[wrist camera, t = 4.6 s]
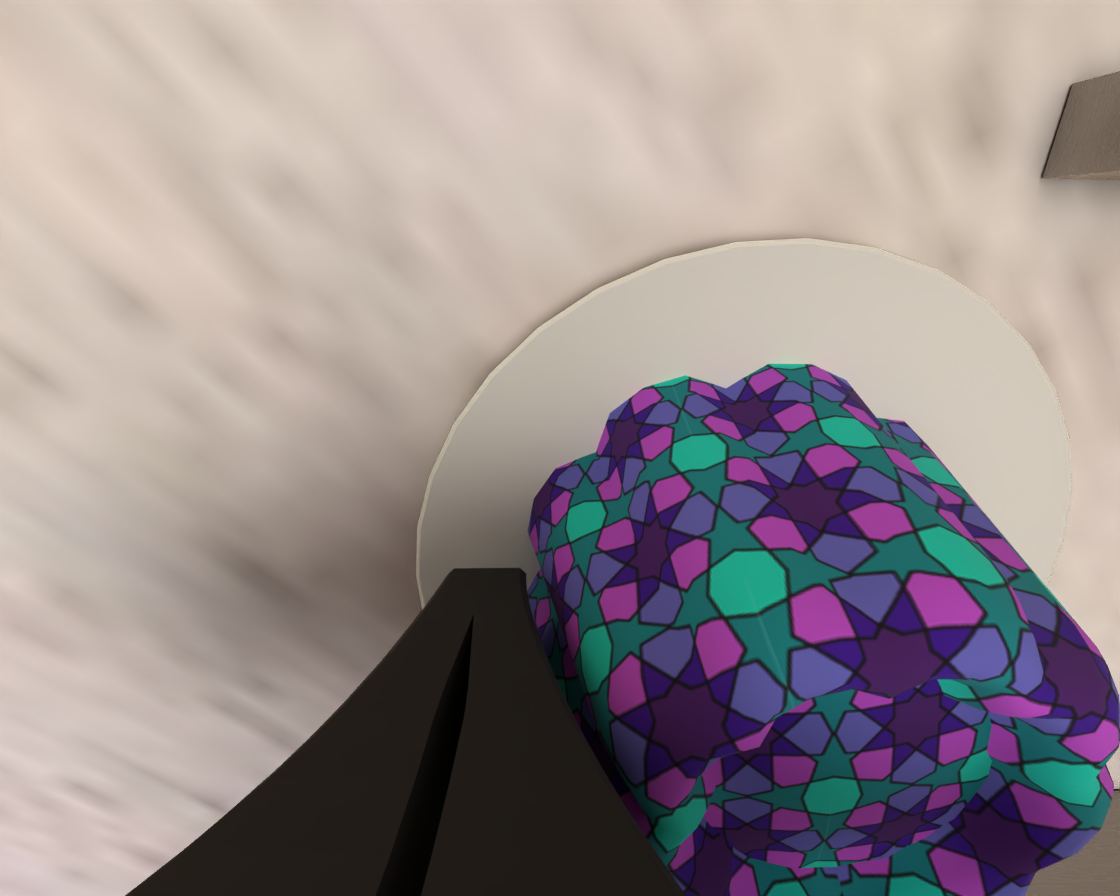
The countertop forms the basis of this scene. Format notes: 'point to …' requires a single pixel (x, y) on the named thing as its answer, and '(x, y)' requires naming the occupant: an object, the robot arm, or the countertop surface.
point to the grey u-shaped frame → (1088, 153)
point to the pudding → (797, 569)
